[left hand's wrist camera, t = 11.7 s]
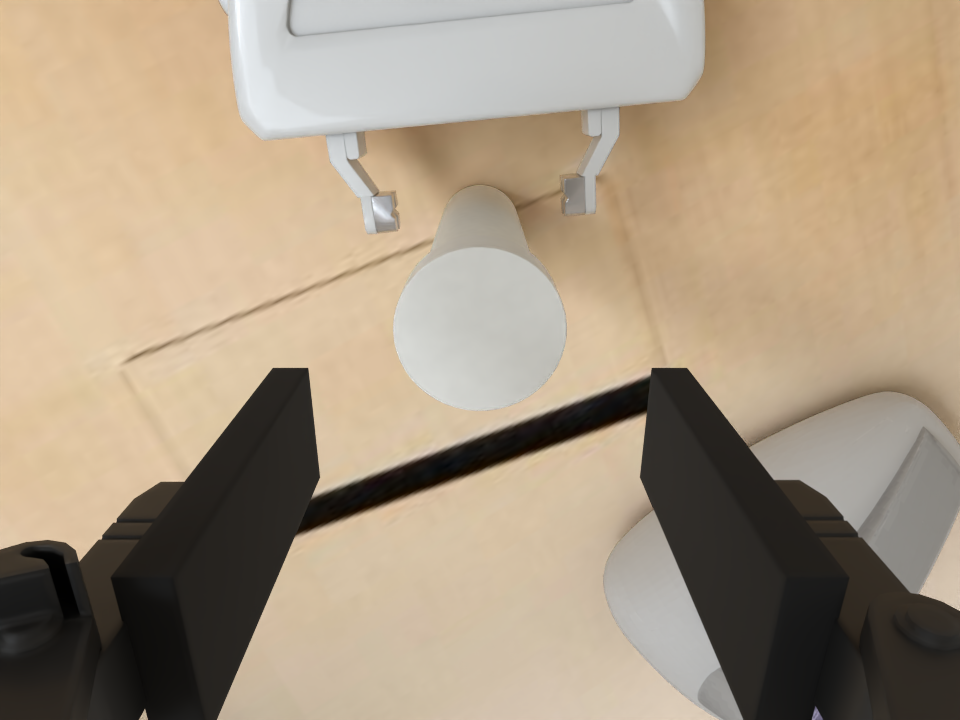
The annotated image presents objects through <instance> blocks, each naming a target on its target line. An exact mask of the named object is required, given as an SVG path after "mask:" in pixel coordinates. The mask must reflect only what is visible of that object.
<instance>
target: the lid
mask: <svg viewBox="0 0 960 720" xmlns="http://www.w3.org/2000/svg"><path fill="white" fill-rule="evenodd" d="M393 334H394V342H395V347H396V351H397V354H398V356H399V359H400V362H401V363H402V365H403V367H404V369H405V371H406V372H407V374H408V375H409V376H410V378H411V379H412V380H413V381H414V382H415V383H416V384H417V386H418V387H420V388H421V389H422V390H423V391H424V392H426V393H427V394H428V395H430V396H431V397H433V398H434V399H436V400H438V401H440V402H442V403H444V404H447V405H450V406H453V407H456V408H460V409H465V410H474V411H488V410H495V409H500V408H504V407H508V406H511V405H513V404H515V403H518V402H520V401H522V400H524V399H525V398H527V397H529V396H530V395H532V394H533V393H534V392H536V391H537V390H538V389H539V388H540V387H541V386H542V385H544V384H545V383H546V381H547V380H548V379H549V378H550V376H551V375H552V374H553V372H554V371H555V369H556V367H557V366H558V364H559V361H560V359H561V357H562V354H563V351H564V347H565V342H566V336H567V323H566V314H565V310H564V307H563V303H562V301H561V298H560V296H559V293H558V291H557V288H556V286H555V284H554V281H553V279H552V277H551V275H550V274H549V272H548V270H547V269H546V268H545V266H544V265H543V264H542V263H541V261H540V260H538V259H537V258H536V257H535V256H534V255H533V254H532V253H531V252H529V251H528V250H527V249H525V248H524V247H522V246H520V245H518V244H516V243H514V242H512V241H509V240H506V239H503V238H499V237H495V236H486V235H474V236H466V237H461V238H457V239H454V240H451V241H448V242H446V243H444V244H442V245H440V246H438V247H437V248H435V249H433V250H432V251H431V252H429V253H428V254H427V255H426V256H425V257H423V258H422V260H421V261H420V262H419V263H418V264H417V265H416V266H415V268H414V269H413V271H412V272H411V274H410V275H409V277H408V279H407V281H406V283H405V286H404V288H403V291H402V293H401V296H400V298H399V301H398V304H397V307H396V310H395V315H394V324H393Z"/></svg>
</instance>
